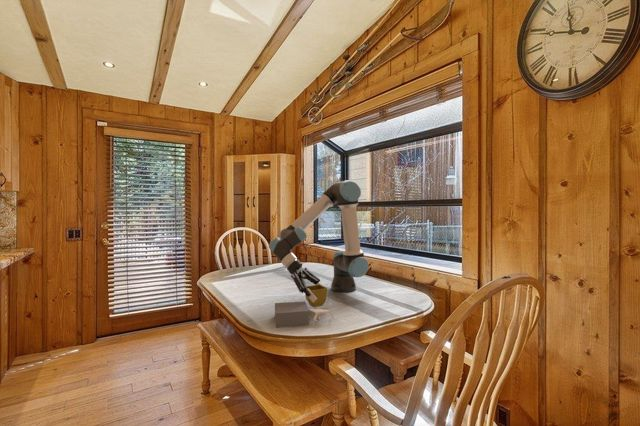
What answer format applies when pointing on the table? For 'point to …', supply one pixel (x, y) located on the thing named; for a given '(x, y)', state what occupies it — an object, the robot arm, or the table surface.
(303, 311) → the base block
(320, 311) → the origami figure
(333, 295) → the table surface
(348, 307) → the table surface
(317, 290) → the flower pot
